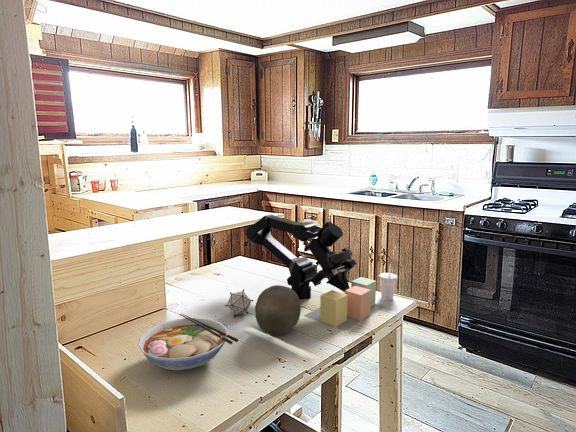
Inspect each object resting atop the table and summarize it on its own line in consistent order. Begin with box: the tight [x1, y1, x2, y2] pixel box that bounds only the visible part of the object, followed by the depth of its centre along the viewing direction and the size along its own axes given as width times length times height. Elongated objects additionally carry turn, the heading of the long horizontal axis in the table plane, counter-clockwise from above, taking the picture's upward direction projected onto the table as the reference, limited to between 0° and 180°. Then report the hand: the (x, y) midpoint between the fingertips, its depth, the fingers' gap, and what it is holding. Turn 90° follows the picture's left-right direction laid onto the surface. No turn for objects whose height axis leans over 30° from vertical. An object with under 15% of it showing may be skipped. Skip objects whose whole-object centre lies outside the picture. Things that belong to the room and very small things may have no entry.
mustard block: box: [319, 289, 348, 328], centre depth 132 cm, size 6×6×8 cm
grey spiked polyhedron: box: [224, 288, 254, 318], centre depth 140 cm, size 9×8×10 cm
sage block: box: [350, 276, 377, 306], centre depth 144 cm, size 6×6×8 cm
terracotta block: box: [344, 286, 371, 322], centre depth 136 cm, size 6×6×8 cm
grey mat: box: [303, 303, 385, 331], centre depth 140 cm, size 16×24×1 cm, turn 138°
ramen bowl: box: [137, 313, 239, 371], centre depth 110 cm, size 25×23×8 cm
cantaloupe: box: [254, 284, 302, 337], centre depth 125 cm, size 14×14×15 cm
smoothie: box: [378, 263, 398, 301], centre depth 150 cm, size 6×6×14 cm
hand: (349, 293), depth 138 cm, fingers closed, pressing on terracotta block
